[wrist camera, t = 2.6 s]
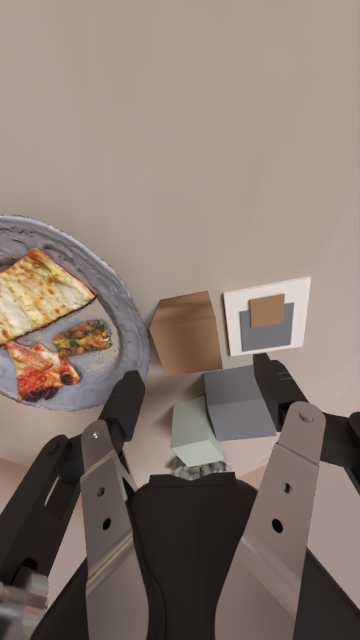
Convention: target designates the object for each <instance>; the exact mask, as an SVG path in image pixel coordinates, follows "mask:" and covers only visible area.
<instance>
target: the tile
mask: <svg viewBox="0 0 360 640" xmlns="http://www.w3.org/2000/svg"><path fill="white" fill-rule="evenodd" d="M310 283H311V277H308V276H307V277H302V278H296V279H291V280H286V281H281V282H275V283H270V284H265V285H260V286H255V287H249V288H244V289H239V290H234V291H228V292H223V296H224V305H225V314H226V323H227V331H228V340H229V349H230V355H231V356H237V355H244V354H252V353H259V352H266V351H273V350H280V349H287V348H294V347H302V346H303V339H304V331H305V323H306V315H307V307H308V299H309V291H310Z"/></svg>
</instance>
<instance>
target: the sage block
mask: <svg viewBox="0 0 360 640" xmlns="http://www.w3.org/2000/svg"><path fill="white" fill-rule="evenodd" d="M170 449H171V450H172V451H173V452H174V453H175V454H176V455H177V456H178V457H179V458H180V459H181V460H182V461H183V462H184V463H185V464H186V465H187V466H188V467H193V466H198V465H203V464H208V463H213V462H218V461H223V460H224V455H223V448H222V442H221V441H217V437H216V434H215V431H214V427H213V424H212V421H211V418H210V414H209V411H208V408H207V401H206V397H205V396H200V397H197V398H194V399H190V400H187V401H184V402H181V403H177V404H174V408H173V421H172V433H171V445H170Z"/></svg>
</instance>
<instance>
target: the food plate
mask: <svg viewBox="0 0 360 640" xmlns="http://www.w3.org/2000/svg"><path fill="white" fill-rule="evenodd" d="M95 297H97V299H98V301H99V302H100V304H102V306H103V308H104V309H105V311H106V313H107V314H108V316H109V317H110V319H111V321H112V323H113V324H114V325H115V327H116V329H117V334H118V337H119V338H118V342H119V345H118V346H117V347H118V348H117V349H118V350H119V353H118V355H116V357H115V356H113V358H114V359H115V361H114V362H108V363H107V365H106V366H105V367H106V368H109V369H108V370H107V369H105V368H104V367H102V369H105V370H104V371H103V372H102V373H101V370H96V371H94V369H93V368H92V367H91V366H89V365H88V364H92V363H93V364H94V363H97V364H100V363H104V361H100V357H99V359H94V356H96V355H94V354H93V353H96V351H97V350H98V351H101V350H103V349H107V348H108V347H111V345H114V344H113V343H112V342H111V338H110V336H111V335H112V332H111V329H110V326H109V325H108V324H107V322H105V320H104V319H95V320H87V321H86V322H82V321H81V322H79V319H78V318H76V319H75V320H74V321H72V322H70V321H68V320H69V319H68V318H70V317H72V315H74V314H76V313H77V312H78V313H79V312H81V311H82V310H81V309H84V308H85V307H86V306H87V305H89V304H92V302H91V300H94V299H95ZM137 310H138V309H137V308H136V306H135V304H134V302H133V299H132V298H131V296H130V295H129V292H128V290H127V289H126V288H125V286H124V284H123V283H122V281H121V279H120V278H119V276H118V274H117V273H116V271H114V269H112V267H111V266H110V265H108V264H106V262H104V261H103V259H101V258H100V257H98V256H97V255H96V256H95V255H94V253H93V252H92V251H91V250H89V249H87V247H86V246H83V244H81V243H80V242H79V241H76V239H73V237H71V236H70V235H67V234H65V233H64V232H63V231H60V230H58V229H57V228H55V227H52V226H51V225H49V224H45V222H44V223H43V222H40V221H38V220H37V221H36V220H34V219H31V218H29V217H22V216H21V215H19V216H18V215H8V214H0V394H2V395H4V396H6V397H8V398H11V399H13V400H15V401H16V402H17V403H18V402H19V403H22V404H24V405H28V406H34V407H43V408H47V409H50V410H66V411H69V412H70V411H71V412H73V411H74V412H75V411H77V410H81V409H82V410H83V409H86V408H91V407H95V406H100V405H102V404H103V405H104V404H106V402H107V400H108V399H109V396H110V394H111V392H112V389H113V387H114V385H115V384H116V383H117V382H118V381H119V380H120V379H123V376H124V374H125V372H126V371H132V370H138V372H139V374H140V376H141V379H142V381H144V379H145V377H146V373H147V370H148V364H149V357H150V355H151V354H150V345H149V339H148V332H146V331H147V330H146V327H145V325H144V322H143V320H142V318H141V316H140V313H139V311H137ZM62 320H63V321H62ZM75 322H76V323H75ZM27 341H31V342H32V344H28V343H27ZM113 351H115V350H113ZM101 352H102V351H101ZM115 352H116V351H115ZM98 354H100V352H99V353H98ZM109 355H110V354H109ZM102 356H104V355H103V354H102ZM110 357H111V356H110ZM102 359H103V358H102ZM106 360H107V359H106ZM87 369H92V370H90V372H89V371H87ZM86 372H87V373H86ZM91 372H93V373H94V374H93V373H91ZM95 372H96V373H95ZM98 372H99V373H98ZM97 373H98V374H97ZM85 374H86V375H87V376H86V375H85ZM90 374H91V375H90ZM99 374H101V376H98V377H96V375H99ZM91 376H93V377H91ZM82 379H84V380H83V381H81V380H82Z"/></svg>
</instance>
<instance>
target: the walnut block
mask: <svg viewBox="0 0 360 640" xmlns="http://www.w3.org/2000/svg"><path fill="white" fill-rule="evenodd" d="M149 330H150V332H151V335H152V338H153V341H154V344H155V347H156V350H157V352H158V355H159V358H160V361H161V364H162V367H163V369H164V372H165V375H166V376H172V375H180V374H187V373H195V372H203V371H210V370H218V369H223V368H222V361H221V354H220V347H219V340H218V333H217V326H216V319H215V315H214V311H213V308H212V304H211V301H210V297H209V294H208V291H203V292H198V293H193V294H188V295H183V296H177V297H172V298H167V299H162V300H160V302H159V305H158V307H157V310H156V313H155V315H154V318H153V321H152V323H151V326H150V328H149Z"/></svg>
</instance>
